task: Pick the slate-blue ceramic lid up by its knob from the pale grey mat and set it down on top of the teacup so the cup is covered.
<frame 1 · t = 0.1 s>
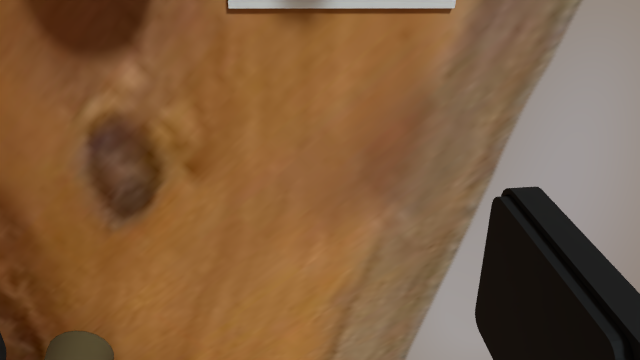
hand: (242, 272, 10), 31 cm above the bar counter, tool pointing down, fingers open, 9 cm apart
cork: (81, 353, 51), on the bar counter
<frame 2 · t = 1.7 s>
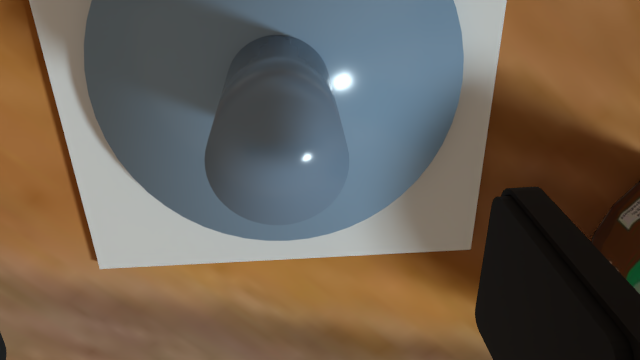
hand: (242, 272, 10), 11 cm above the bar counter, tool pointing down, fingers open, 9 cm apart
lid: (278, 79, 19), resting on mat
food container: (627, 267, 25), on the bar counter
mat: (278, 76, 20), on the bar counter
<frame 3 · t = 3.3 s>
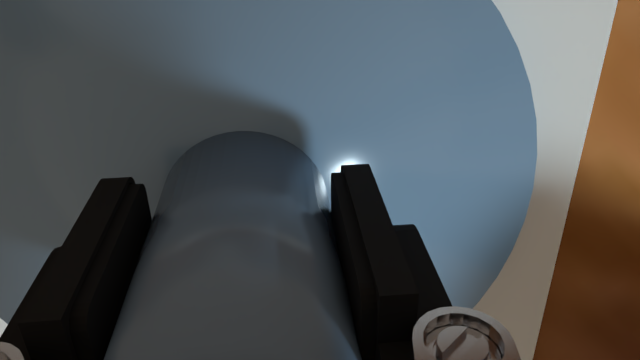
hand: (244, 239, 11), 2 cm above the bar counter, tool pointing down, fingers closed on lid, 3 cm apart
lid: (247, 189, 12), resting on mat, touching gripper
mat: (247, 181, 13), on the bar counter
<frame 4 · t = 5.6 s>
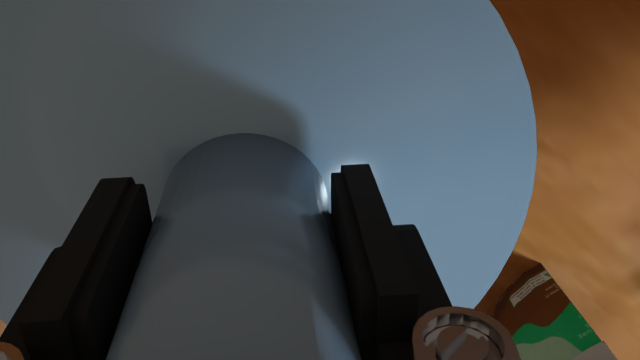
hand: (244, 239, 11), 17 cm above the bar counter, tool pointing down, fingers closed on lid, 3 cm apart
lid: (247, 190, 12), point 15 cm above the bar counter, touching gripper
food container: (521, 326, 37), on the bar counter
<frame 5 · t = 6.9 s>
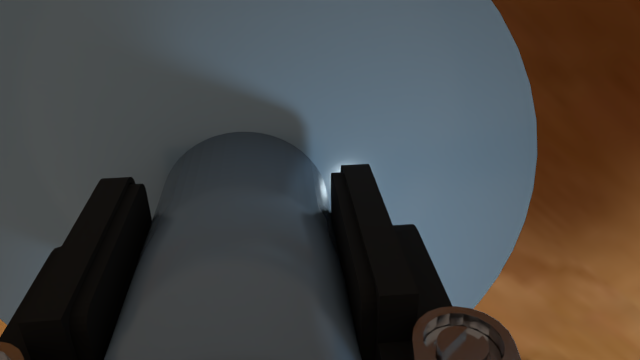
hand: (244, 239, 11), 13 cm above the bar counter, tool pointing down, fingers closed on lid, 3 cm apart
lid: (247, 189, 12), point 11 cm above the bar counter, touching gripper
when the fingers open (9 cm above the bar counter, at t = 7.9 s): lid drops 1 cm, resting on teacup.
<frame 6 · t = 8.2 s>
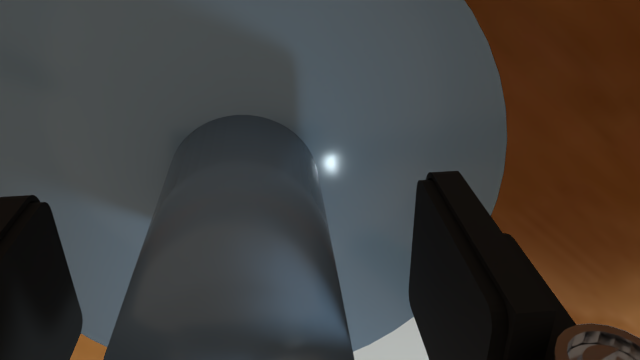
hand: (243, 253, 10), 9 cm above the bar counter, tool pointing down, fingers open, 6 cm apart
lid: (245, 169, 14), point 5 cm above the bar counter, touching teacup
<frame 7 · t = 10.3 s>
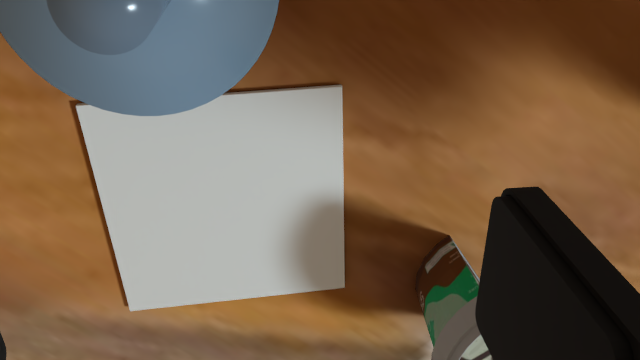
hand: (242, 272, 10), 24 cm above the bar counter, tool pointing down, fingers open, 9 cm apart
food container: (441, 291, 43), on the bar counter
mat: (227, 205, 37), on the bar counter
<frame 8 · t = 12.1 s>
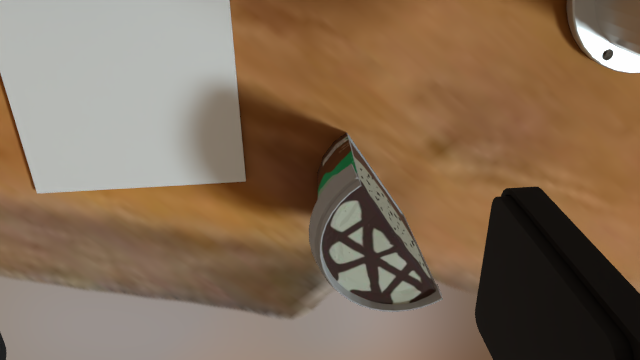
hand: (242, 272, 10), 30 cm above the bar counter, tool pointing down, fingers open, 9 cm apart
food container: (344, 193, 45), on the bar counter
mat: (124, 87, 38), on the bar counter
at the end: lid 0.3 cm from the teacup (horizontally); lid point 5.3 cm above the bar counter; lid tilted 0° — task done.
